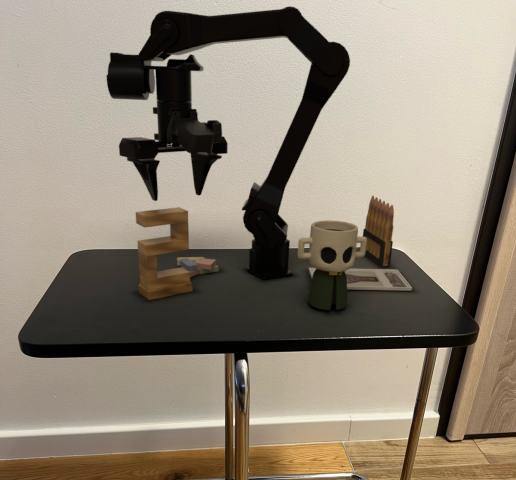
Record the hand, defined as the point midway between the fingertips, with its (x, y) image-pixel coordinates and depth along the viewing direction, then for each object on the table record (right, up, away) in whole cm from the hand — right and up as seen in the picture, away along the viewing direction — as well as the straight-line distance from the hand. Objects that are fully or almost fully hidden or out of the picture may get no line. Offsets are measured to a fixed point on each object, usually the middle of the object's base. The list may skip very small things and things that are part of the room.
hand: (177, 197), depth 96 cm
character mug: (+25, -20, -9) cm, 34 cm away
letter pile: (+3, -12, +5) cm, 13 cm away
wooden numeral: (-1, -17, -6) cm, 18 cm away
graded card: (+32, -15, +3) cm, 36 cm away
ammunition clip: (+38, -9, +15) cm, 42 cm away
